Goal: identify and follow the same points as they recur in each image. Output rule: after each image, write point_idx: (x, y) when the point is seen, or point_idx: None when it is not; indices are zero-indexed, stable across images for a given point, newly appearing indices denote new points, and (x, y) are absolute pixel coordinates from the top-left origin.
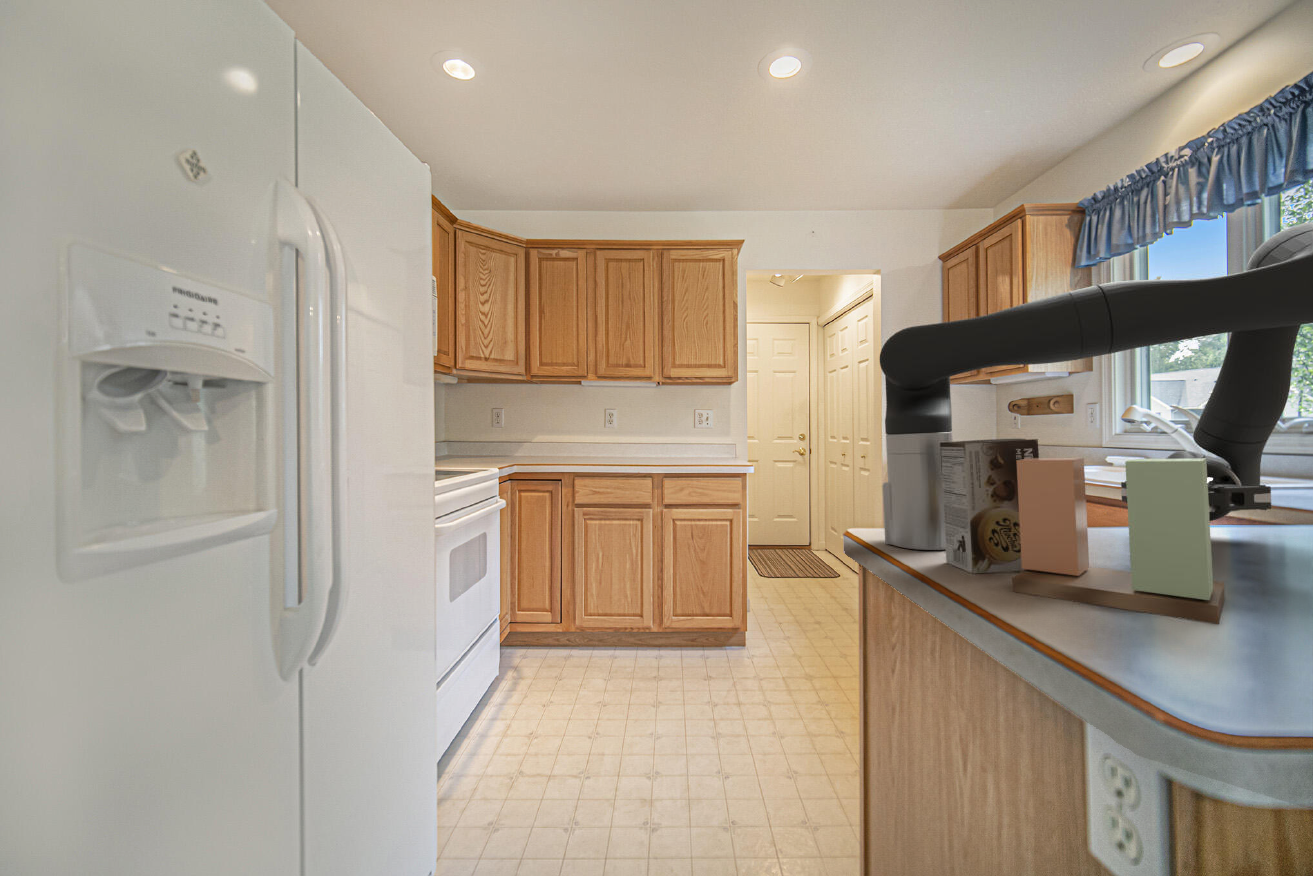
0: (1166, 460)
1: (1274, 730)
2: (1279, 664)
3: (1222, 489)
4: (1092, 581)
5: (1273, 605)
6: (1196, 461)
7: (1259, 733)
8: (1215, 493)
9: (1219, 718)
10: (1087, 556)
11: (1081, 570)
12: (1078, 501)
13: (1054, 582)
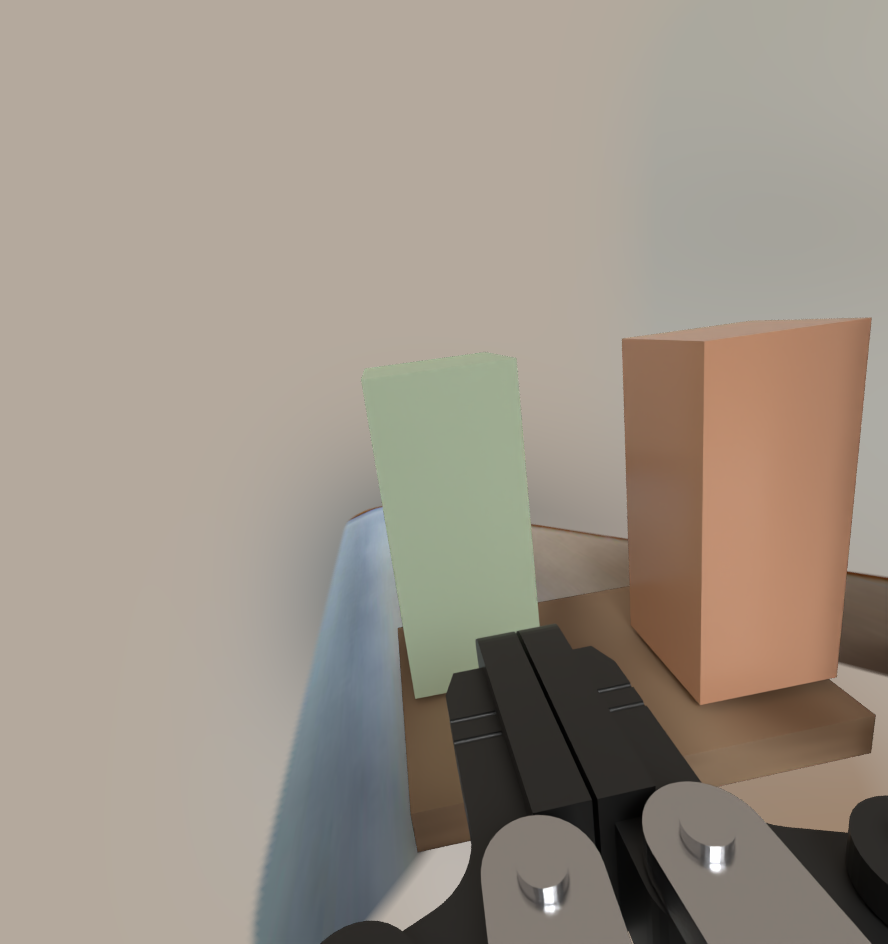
0: (424, 362)
1: (357, 519)
2: (345, 588)
3: (348, 929)
4: (600, 629)
5: (316, 872)
6: (373, 368)
7: (364, 514)
8: (410, 932)
9: (381, 514)
10: (689, 662)
11: (646, 636)
12: (644, 465)
13: (627, 590)
